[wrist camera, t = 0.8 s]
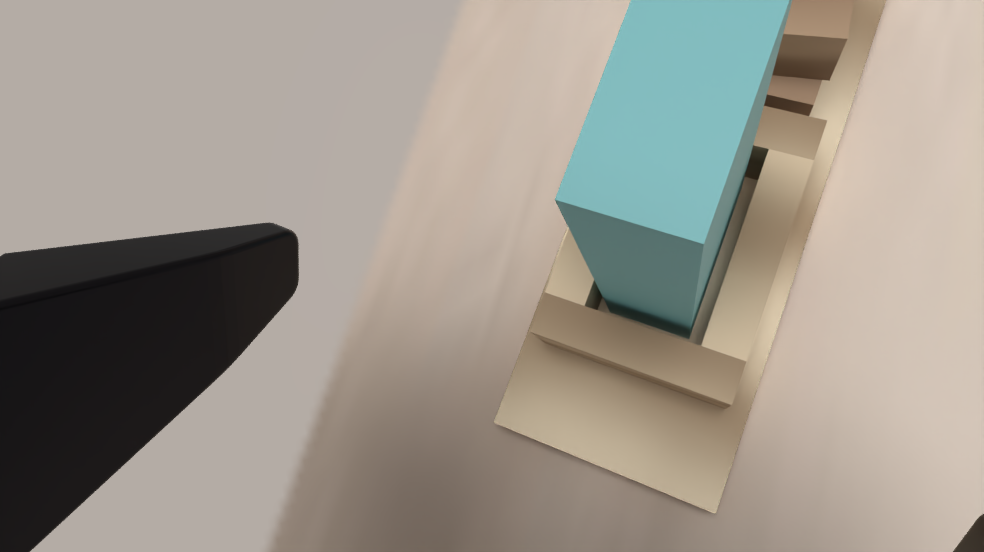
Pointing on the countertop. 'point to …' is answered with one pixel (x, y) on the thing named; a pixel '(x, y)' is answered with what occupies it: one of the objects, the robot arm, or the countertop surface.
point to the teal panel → (669, 151)
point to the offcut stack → (808, 52)
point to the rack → (718, 327)
